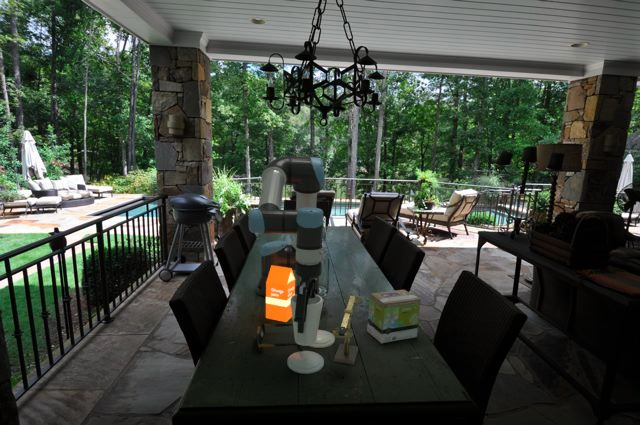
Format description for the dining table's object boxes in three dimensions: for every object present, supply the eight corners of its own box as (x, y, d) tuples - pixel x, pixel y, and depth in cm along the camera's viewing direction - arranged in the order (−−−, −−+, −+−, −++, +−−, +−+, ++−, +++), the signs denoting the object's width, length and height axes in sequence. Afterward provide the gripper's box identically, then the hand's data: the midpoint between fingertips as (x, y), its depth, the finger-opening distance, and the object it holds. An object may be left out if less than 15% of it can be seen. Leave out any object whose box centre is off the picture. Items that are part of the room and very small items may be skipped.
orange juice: (286, 322, 136) (287, 271, 133) (265, 318, 139) (265, 267, 136) (294, 314, 143) (295, 265, 140) (274, 310, 146) (275, 262, 143)
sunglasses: (303, 354, 115) (303, 339, 114) (255, 355, 113) (255, 340, 113) (301, 333, 129) (302, 320, 128) (258, 333, 127) (258, 320, 126)
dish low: (282, 369, 105) (282, 365, 105) (294, 350, 116) (294, 347, 116) (318, 376, 103) (318, 372, 103) (327, 356, 113) (327, 353, 113)
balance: (343, 338, 125) (345, 291, 123) (360, 340, 124) (363, 293, 121) (329, 373, 105) (331, 317, 102) (349, 376, 103) (352, 320, 101)
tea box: (382, 345, 122) (384, 303, 119) (366, 331, 131) (368, 292, 129) (418, 337, 128) (421, 297, 125) (400, 325, 137) (403, 287, 135)
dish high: (298, 344, 120) (298, 341, 120) (307, 329, 130) (307, 326, 130) (330, 350, 117) (330, 346, 117) (337, 334, 128) (337, 331, 127)
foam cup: (317, 350, 103) (318, 307, 101) (285, 346, 105) (286, 303, 103) (323, 334, 112) (325, 294, 110) (294, 331, 114) (295, 291, 112)
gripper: (310, 274, 93) (307, 355, 96) (330, 253, 114) (327, 320, 118) (283, 270, 95) (281, 350, 98) (307, 251, 116) (305, 317, 119)
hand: (306, 334), depth 108 cm, fingers closed on foam cup, 9 cm apart
